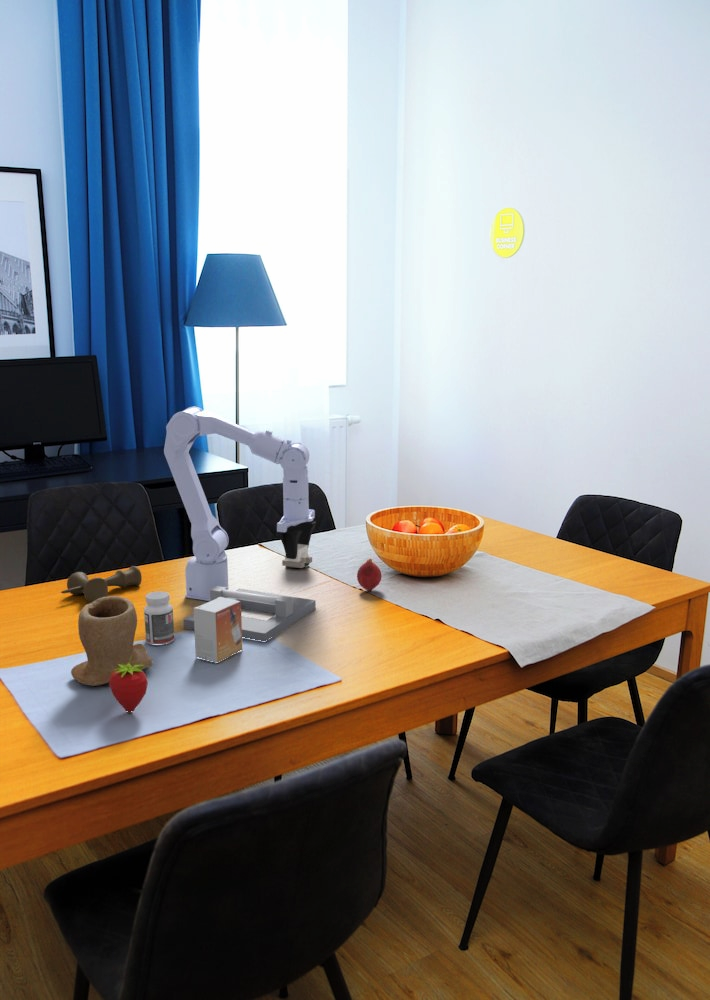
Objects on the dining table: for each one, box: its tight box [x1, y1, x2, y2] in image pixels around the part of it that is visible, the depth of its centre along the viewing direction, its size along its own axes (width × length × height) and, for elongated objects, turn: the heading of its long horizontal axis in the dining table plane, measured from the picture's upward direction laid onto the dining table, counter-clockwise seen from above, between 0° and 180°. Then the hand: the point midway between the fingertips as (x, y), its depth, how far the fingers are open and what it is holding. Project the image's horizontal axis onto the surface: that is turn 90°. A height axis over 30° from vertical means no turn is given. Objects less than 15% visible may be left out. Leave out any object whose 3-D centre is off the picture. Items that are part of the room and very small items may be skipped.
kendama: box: [61, 565, 143, 604], centre depth 211 cm, size 6×10×20 cm
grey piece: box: [182, 586, 317, 641], centre depth 194 cm, size 20×22×6 cm
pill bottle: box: [143, 590, 175, 645], centre depth 181 cm, size 6×6×10 cm
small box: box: [193, 597, 243, 663], centre depth 173 cm, size 8×6×10 cm
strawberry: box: [108, 656, 149, 713], centre depth 150 cm, size 6×8×10 cm
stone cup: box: [70, 595, 154, 687], centre depth 164 cm, size 15×12×15 cm
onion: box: [356, 558, 383, 592], centre depth 211 cm, size 6×6×8 cm
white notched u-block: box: [281, 544, 313, 569], centre depth 205 cm, size 5×5×4 cm
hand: (297, 555), depth 205 cm, fingers closed on white notched u-block, 5 cm apart
